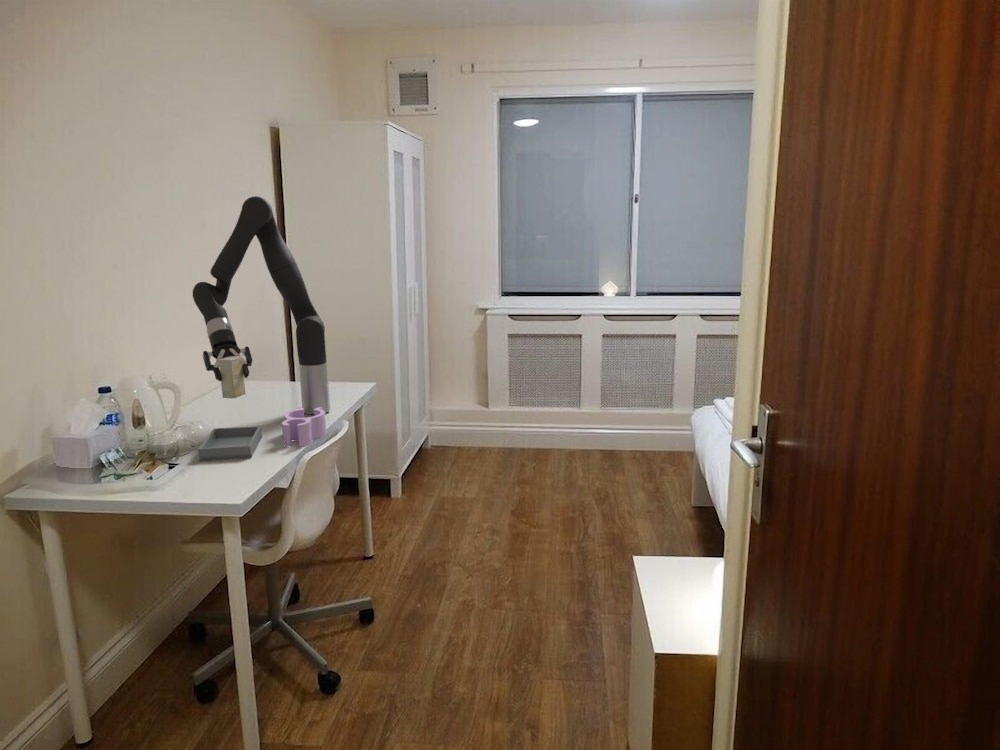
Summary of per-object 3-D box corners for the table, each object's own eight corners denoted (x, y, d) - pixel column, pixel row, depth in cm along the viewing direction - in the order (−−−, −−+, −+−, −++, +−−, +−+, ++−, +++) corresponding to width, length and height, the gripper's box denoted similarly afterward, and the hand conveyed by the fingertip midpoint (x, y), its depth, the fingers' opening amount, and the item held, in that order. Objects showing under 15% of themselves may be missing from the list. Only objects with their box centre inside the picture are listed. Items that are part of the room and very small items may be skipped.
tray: (262, 436, 224) (261, 426, 223) (251, 457, 205) (250, 446, 204) (215, 439, 222) (213, 428, 221) (199, 461, 203) (198, 449, 202)
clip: (315, 447, 214) (313, 425, 212) (273, 447, 214) (271, 425, 213) (331, 427, 233) (330, 407, 232) (292, 428, 234) (291, 407, 232)
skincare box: (234, 399, 221) (231, 360, 218) (221, 398, 222) (218, 359, 219) (246, 394, 227) (242, 356, 224) (233, 393, 228) (229, 355, 225)
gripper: (198, 330, 222) (210, 374, 215) (245, 326, 230) (259, 368, 223) (196, 344, 228) (208, 388, 221) (243, 340, 235) (255, 381, 228)
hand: (233, 378), depth 222 cm, fingers closed on skincare box, 7 cm apart
